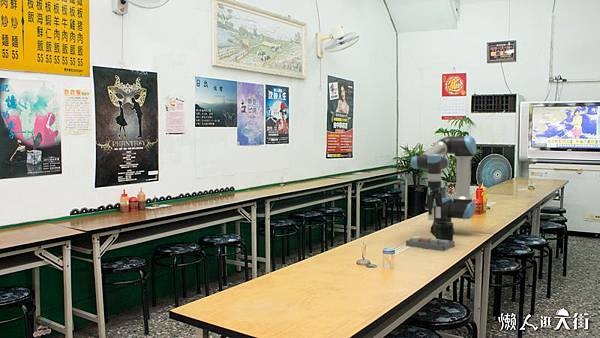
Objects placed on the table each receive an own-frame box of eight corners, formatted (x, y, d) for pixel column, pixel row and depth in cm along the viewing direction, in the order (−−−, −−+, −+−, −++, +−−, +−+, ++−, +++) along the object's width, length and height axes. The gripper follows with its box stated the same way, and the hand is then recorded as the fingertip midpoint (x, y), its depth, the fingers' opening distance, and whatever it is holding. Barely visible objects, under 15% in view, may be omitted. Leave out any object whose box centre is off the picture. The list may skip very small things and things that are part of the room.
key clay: (423, 241, 312) (423, 237, 312) (430, 242, 309) (430, 238, 309) (420, 242, 309) (420, 238, 308) (427, 243, 306) (427, 239, 306)
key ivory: (415, 240, 316) (415, 236, 315) (421, 240, 313) (421, 237, 313) (411, 241, 312) (411, 237, 312) (418, 242, 309) (418, 238, 309)
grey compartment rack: (417, 242, 320) (417, 236, 320) (454, 247, 305) (454, 241, 304) (406, 247, 310) (406, 240, 309) (444, 252, 294) (444, 245, 294)
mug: (448, 245, 313) (448, 225, 312) (426, 241, 323) (426, 222, 322) (456, 241, 321) (456, 222, 320) (435, 238, 330) (435, 220, 330)
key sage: (432, 242, 308) (432, 238, 308) (439, 243, 305) (439, 239, 305) (429, 243, 305) (429, 239, 305) (436, 244, 302) (436, 240, 302)
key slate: (442, 243, 304) (442, 239, 304) (449, 244, 302) (449, 240, 301) (438, 245, 301) (438, 240, 301) (445, 245, 298) (445, 241, 298)
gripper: (436, 178, 313) (436, 215, 315) (419, 182, 296) (420, 221, 298) (448, 179, 308) (448, 216, 310) (431, 182, 292) (432, 222, 293)
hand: (434, 218), depth 304 cm, fingers open, 9 cm apart
